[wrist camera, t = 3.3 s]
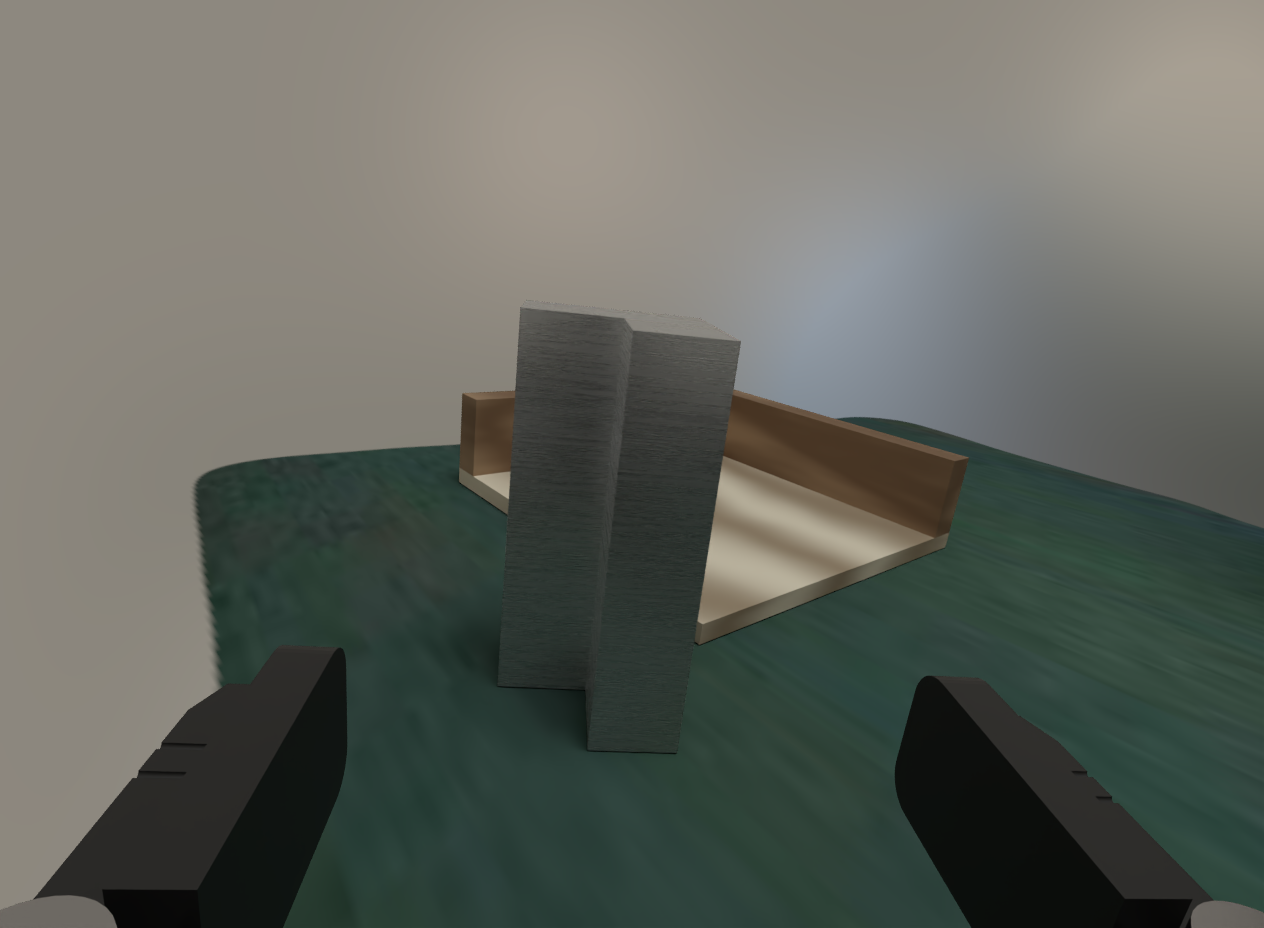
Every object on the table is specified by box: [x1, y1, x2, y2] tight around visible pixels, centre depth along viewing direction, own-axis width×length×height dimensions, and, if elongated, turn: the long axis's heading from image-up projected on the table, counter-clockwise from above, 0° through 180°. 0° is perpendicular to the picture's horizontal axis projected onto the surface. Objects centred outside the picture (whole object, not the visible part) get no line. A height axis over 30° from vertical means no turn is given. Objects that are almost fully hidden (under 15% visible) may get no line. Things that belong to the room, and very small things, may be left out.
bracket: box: [498, 300, 741, 753], centre depth 19 cm, size 5×5×11 cm
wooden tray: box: [459, 390, 969, 645], centre depth 35 cm, size 18×18×5 cm
